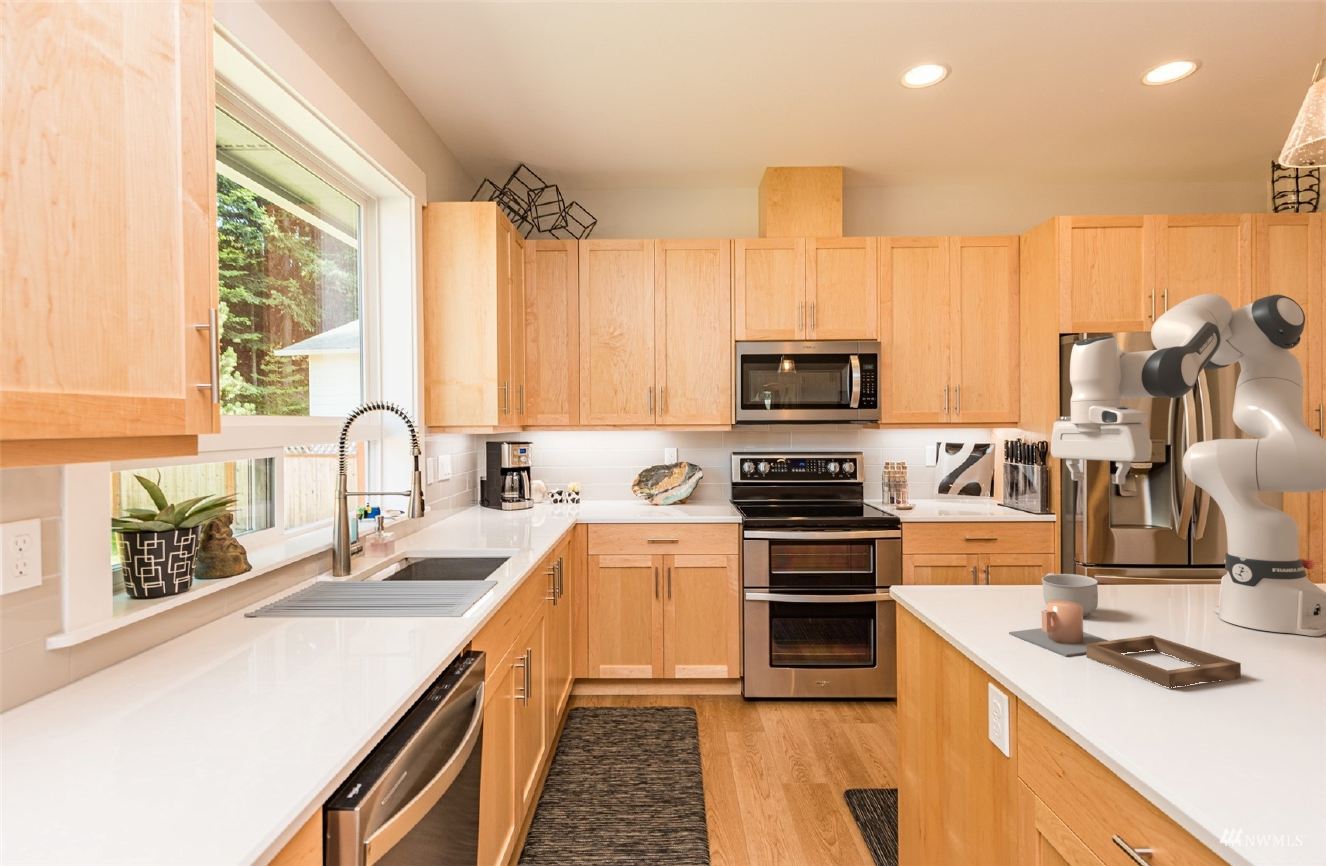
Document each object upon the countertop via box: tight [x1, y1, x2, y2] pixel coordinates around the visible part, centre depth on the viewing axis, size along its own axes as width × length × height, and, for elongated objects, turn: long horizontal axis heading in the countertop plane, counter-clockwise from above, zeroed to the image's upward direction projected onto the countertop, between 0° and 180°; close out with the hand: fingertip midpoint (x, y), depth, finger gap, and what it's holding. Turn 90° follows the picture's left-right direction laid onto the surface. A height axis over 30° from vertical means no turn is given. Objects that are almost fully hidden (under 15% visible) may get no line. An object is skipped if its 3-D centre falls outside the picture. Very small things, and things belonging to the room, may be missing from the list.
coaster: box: [1008, 627, 1109, 658], centre depth 129 cm, size 14×14×1 cm
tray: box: [1085, 634, 1242, 688], centre depth 115 cm, size 15×15×2 cm
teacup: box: [1041, 572, 1099, 617], centre depth 149 cm, size 14×11×8 cm
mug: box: [1041, 600, 1084, 644], centre depth 129 cm, size 8×6×7 cm
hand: (1097, 482), depth 133 cm, fingers open, 8 cm apart
